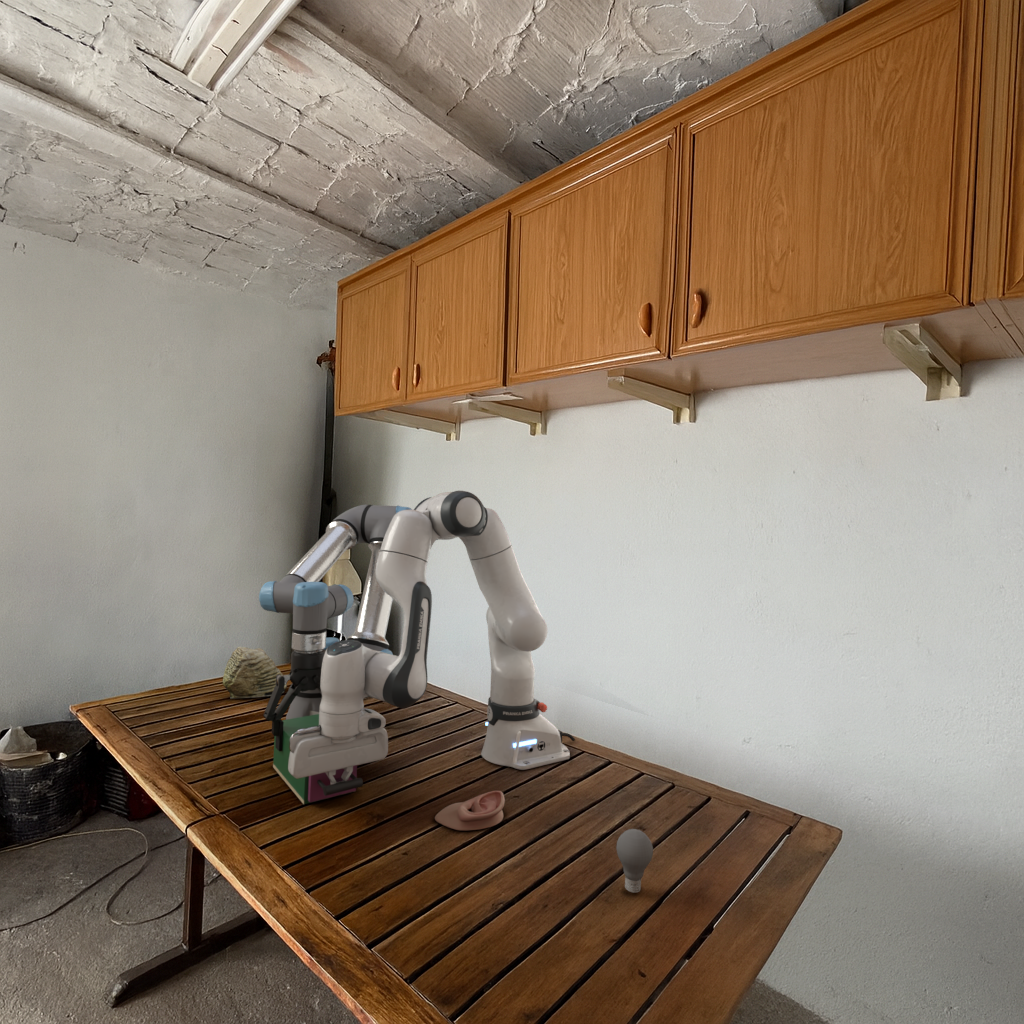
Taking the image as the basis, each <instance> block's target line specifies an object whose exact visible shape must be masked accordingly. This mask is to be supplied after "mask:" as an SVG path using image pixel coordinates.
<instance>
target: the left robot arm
mask: <svg viewBox="0 0 1024 1024" xmlns="http://www.w3.org/2000/svg"><path fill="white" fill-rule="evenodd" d="M402 510H413V508H411V507H409V506H401V505H381V504H380V505H379V504H361V505H357V506H354V507H351V508H349V509H347V510H345V511H343V512H342V513H340V514H338V516H336V517H335V518H334V519H333V520H332V521H331V522H329V524H327V526H326V527H325V533H324V534H323V535H322V536H321V537H320V538H319V539H318V540H317V541H316V543H315V544H314V545H312V547H311V548H310V549H309V550H308V551H307V552H306V553H305V554H304V555H302V557H301V558H300V560H299V561H298V562H297V563H296V564H295V565H294V566H292V568H290V570H289V571H288V572H287V573H286V574H285V575H284V577H282V578H281V579H280V581H277V580H272V581H267V582H265V583H264V584H263V585H262V586H261V588H260V590H259V593H258V601H259V604H260V607H261V608H262V610H264V611H267V612H271V613H277V614H291V615H292V631H291V632H292V633H291V650H292V651H291V654H290V655H291V658H290V671H289V674H282V675H280V674H278V675H277V676H276V685H275V687H274V690H273V692H272V695H271V696H269V697H270V698H269V699H268V702H267V705H266V707H265V710H264V712H263V716H262V717H263V718H264V719H265V720H266V721H268V722H271V734H272V736H273V737H274V736H276V744H275V747H276V749H277V750H278V751H282V748H283V723H284V722H283V721H282V720H283V719H282V718H283V717H284V715H285V714H286V715H285V720H287V719H293V718H299V717H305V716H310V715H316V714H319V707H320V703H321V700H322V692H321V688H320V681H321V668H322V662H323V657H324V654H325V651H326V649H327V648H328V647H329V646H330V645H332V644H333V643H336V642H339V641H340V639H339V638H338V637H334V636H333V637H327V626H328V625H327V623H328V620H330V619H332V618H334V617H335V618H336V617H340V616H342V615H343V614H345V613H347V612H349V611H350V610H351V608H352V607H353V604H354V600H355V599H354V598H355V597H354V594H353V592H352V590H351V588H349V587H348V586H347V585H345V584H334V583H333V584H332V585H328V584H327V583H326V582H323V581H321V580H322V579H323V577H325V575H326V574H327V573H328V572H329V571H330V569H331V568H332V567H333V566H334V565H335V563H337V561H338V560H339V559H340V558H341V557H342V556H343V554H344V553H345V552H346V551H348V550H352V548H354V547H355V546H356V545H357V544H368V545H367V547H368V548H369V550H370V551H371V556H370V559H369V560H370V561H369V564H368V569H367V573H366V578H365V581H364V582H365V583H364V587H363V592H362V596H361V600H360V605H359V608H358V609H359V610H358V614H357V619H356V623H355V628H354V632H353V633H352V634H350V635H349V636H347V638H346V640H356V641H359V642H361V643H362V644H363V646H365V647H367V648H369V649H372V650H376V651H380V652H384V653H387V654H391V655H394V654H393V651H392V650H390V649H389V648H390V644H389V642H388V640H387V639H386V634H387V629H388V625H389V621H390V620H389V619H390V615H391V610H392V606H393V601H394V599H393V598H392V597H390V596H389V595H388V594H386V593H385V592H384V591H383V589H382V588H381V587H380V585H379V584H378V582H377V579H376V563H377V559H378V556H379V552H380V549H381V545H382V542H383V539H384V536H385V534H386V531H387V529H388V527H389V525H390V523H391V521H392V519H393V517H394V515H395V514H396V513H398V512H399V511H402ZM289 681H290V682H291V684H290V686H289V687H288V691H287V692H286V693H285V695H284V696H283V698H282V700H281V697H282V694H283V693H284V692H283V690H284V685H287V684H288V682H289ZM282 692H283V693H282ZM368 698H369V697H365V698H364V699H363V700H365V699H368ZM280 700H281V701H280ZM279 702H280V703H279ZM286 712H287V713H286Z"/></svg>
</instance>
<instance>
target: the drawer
mask: <svg viewBox="0 0 1024 1024" xmlns="http://www.w3.org/2000/svg"><path fill="white" fill-rule="evenodd" d="M343 772H344V769H338V770H336V774H335V775H333V777H334V778H335V779H337V778H341V776H342V774H343ZM363 786H364V782H363V778H362V777H358V765H356V766H353V772H352V773H351V775H350V777H349V778H348V780H347V781H344V782H340V783H336V784H332V785H330V779H329V778H328V776H327V774H326V773H320V774H316V775H312V776H309V786H308V801H309V802H312V803H315V802H314V801H316V802H318V800H319V801H323V800H326V798H327V799H330V798H329V797H331V798H334V797H333V796H335V797H338V796H337V795H339V796H342V795H341V794H343V795H346V794H345V793H347V794H350V793H349V792H351V793H354V792H353V791H355V792H356V791H357V789H358V788H362V787H363ZM322 799H323V800H322Z"/></svg>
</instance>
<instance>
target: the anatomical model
mask: <svg viewBox="0 0 1024 1024" xmlns="http://www.w3.org/2000/svg"><path fill="white" fill-rule="evenodd" d="M505 803H506V800H505V795H504V792H502V791H501V790H492V791H488V792H485V793H481V794H479V795H477V796H474V797H472V798H470V799H468V800H465V801H461V802H455V803H452V804H448V805H446V807H443V808H442V809H441V810H439V811H438V813H436V815H435V816H434V820H435V821H436V822H437V823H439V824H440V825H442V826H445V827H446V828H449V829H452V830H455V831H476V830H483V829H487V828H491V827H494V826H497V825H498V824H500V823H501V822H502V821H503V819H504V811H503V809H504V806H505Z"/></svg>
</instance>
